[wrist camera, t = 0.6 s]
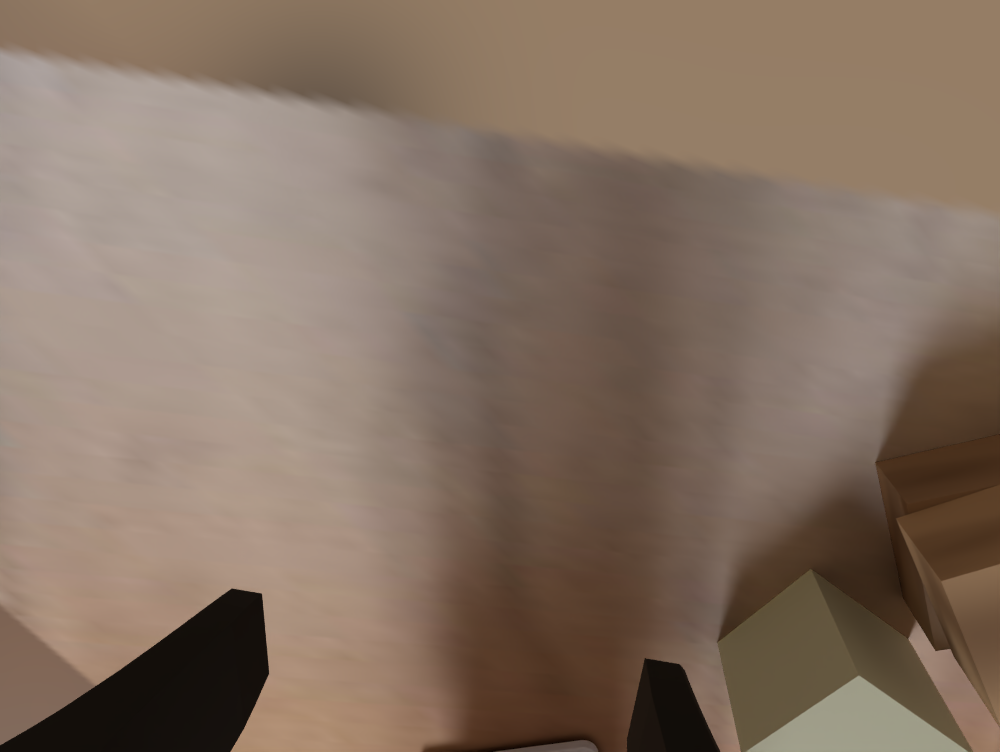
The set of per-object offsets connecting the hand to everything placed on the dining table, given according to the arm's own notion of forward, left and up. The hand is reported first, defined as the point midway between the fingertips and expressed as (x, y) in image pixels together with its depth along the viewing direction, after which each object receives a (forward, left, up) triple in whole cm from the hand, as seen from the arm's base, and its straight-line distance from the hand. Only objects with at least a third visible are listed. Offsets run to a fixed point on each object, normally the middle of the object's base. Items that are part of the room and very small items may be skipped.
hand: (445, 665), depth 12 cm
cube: (-11, -7, -10) cm, 17 cm away
